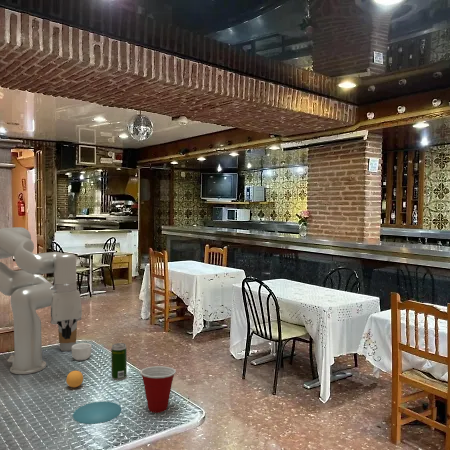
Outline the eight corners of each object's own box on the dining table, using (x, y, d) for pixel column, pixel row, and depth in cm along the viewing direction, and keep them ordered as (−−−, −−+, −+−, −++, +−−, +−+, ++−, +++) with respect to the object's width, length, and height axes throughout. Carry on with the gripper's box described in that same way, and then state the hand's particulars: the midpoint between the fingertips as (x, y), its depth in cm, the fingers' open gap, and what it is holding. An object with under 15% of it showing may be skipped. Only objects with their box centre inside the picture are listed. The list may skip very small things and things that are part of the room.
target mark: (62, 420, 125) (62, 419, 125) (90, 399, 139) (90, 399, 139) (105, 426, 121) (105, 426, 121) (129, 405, 135) (129, 404, 135)
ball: (63, 389, 147) (62, 373, 147) (73, 382, 152) (72, 367, 152) (76, 390, 145) (76, 374, 145) (86, 384, 151) (86, 369, 150)
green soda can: (129, 378, 156) (129, 345, 156) (115, 381, 153) (115, 348, 153) (122, 373, 161) (122, 341, 160) (109, 377, 157) (108, 344, 157)
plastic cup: (181, 403, 136) (181, 366, 136) (166, 419, 126) (166, 378, 125) (151, 398, 140) (151, 361, 139) (133, 413, 129) (133, 374, 129)
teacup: (94, 358, 177) (94, 345, 176) (76, 363, 171) (76, 350, 171) (83, 353, 184) (83, 340, 184) (66, 357, 179) (66, 344, 178)
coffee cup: (60, 346, 192) (60, 313, 192) (80, 345, 193) (79, 312, 193) (55, 352, 184) (54, 317, 184) (75, 352, 185) (74, 317, 184)
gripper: (46, 291, 148) (47, 344, 149) (89, 287, 157) (90, 337, 158) (41, 288, 154) (42, 339, 155) (83, 284, 163) (84, 332, 164)
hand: (66, 338), depth 156 cm, fingers closed
